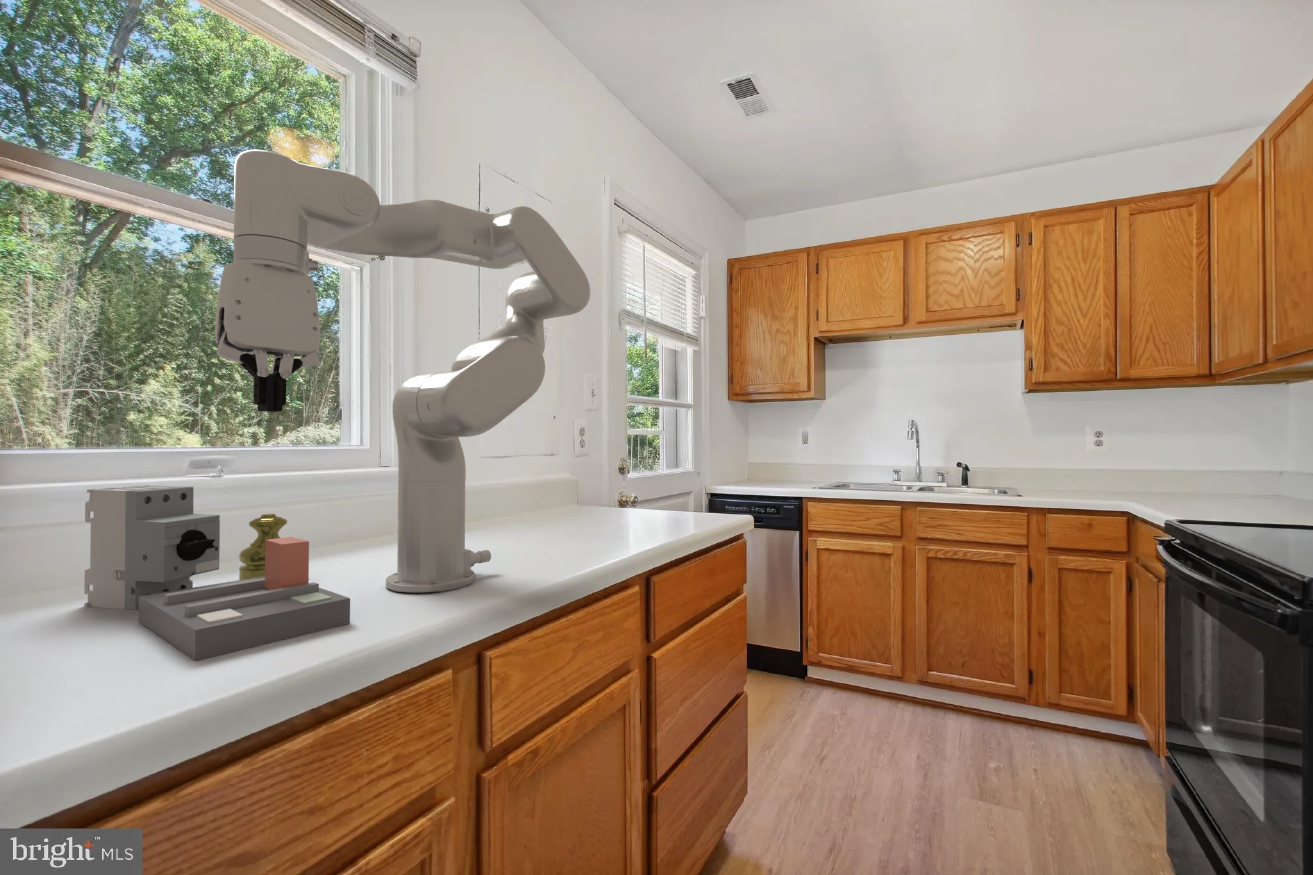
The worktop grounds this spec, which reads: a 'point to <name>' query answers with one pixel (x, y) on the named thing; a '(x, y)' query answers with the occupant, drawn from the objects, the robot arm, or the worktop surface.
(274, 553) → the handle
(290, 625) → the breaker panel
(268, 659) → the worktop surface
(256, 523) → the brass knob
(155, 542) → the circuit breaker
